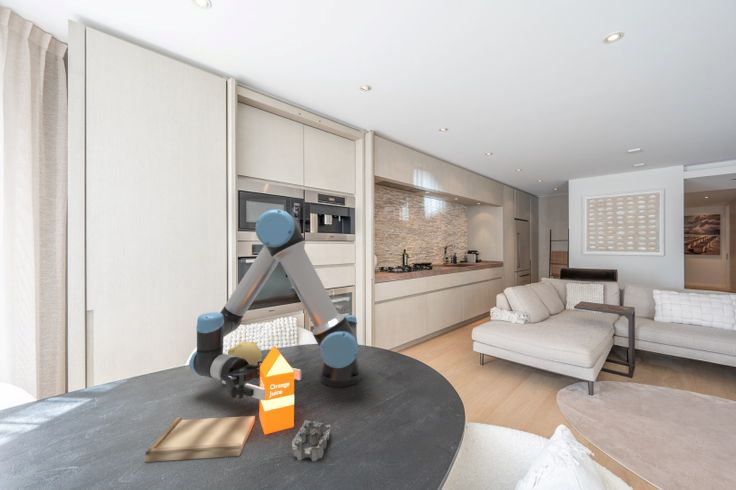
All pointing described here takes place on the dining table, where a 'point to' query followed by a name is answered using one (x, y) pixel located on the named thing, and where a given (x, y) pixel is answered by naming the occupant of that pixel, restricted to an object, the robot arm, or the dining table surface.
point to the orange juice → (276, 393)
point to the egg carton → (311, 440)
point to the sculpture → (247, 352)
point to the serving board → (201, 439)
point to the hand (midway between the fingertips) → (283, 384)
